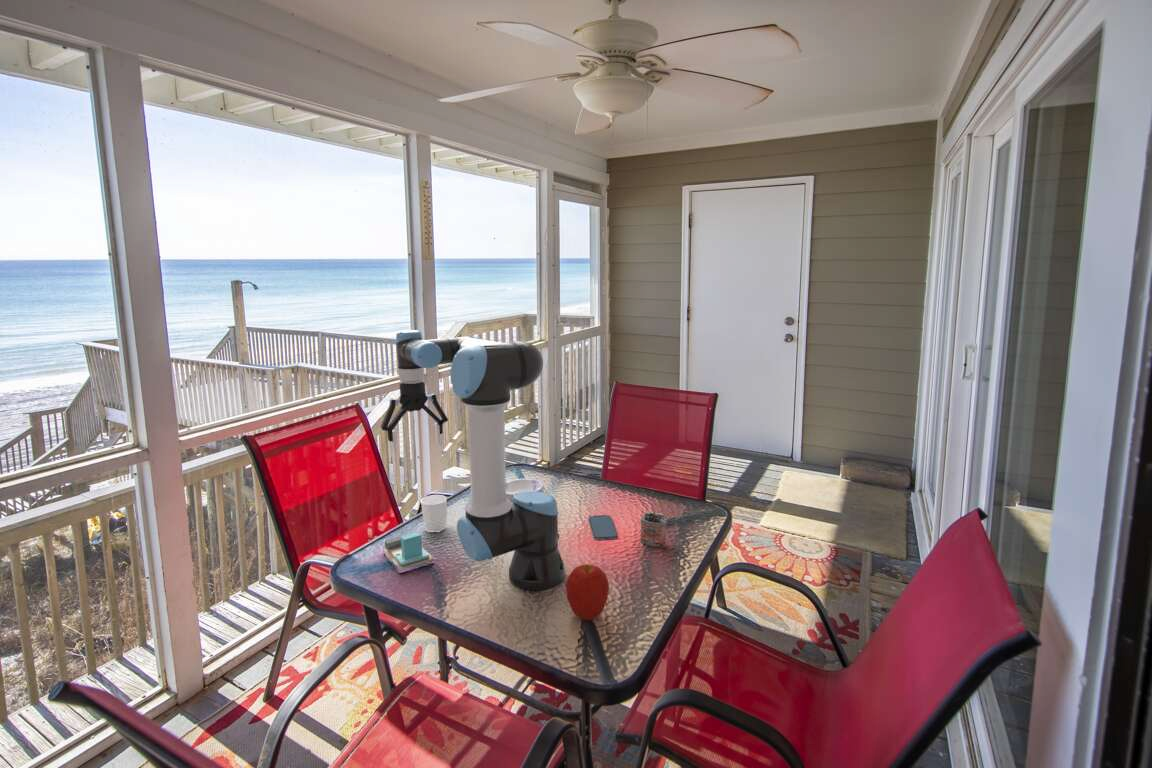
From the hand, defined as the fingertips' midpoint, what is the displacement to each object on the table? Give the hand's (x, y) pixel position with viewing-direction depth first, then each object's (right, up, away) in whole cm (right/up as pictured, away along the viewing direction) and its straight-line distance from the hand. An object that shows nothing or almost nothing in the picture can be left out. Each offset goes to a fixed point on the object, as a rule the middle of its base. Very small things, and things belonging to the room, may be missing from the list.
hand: (416, 447), depth 184 cm
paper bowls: (+31, -23, +21) cm, 44 cm away
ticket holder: (+2, -31, -15) cm, 34 cm away
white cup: (+5, -27, +5) cm, 28 cm away
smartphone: (+58, -27, +4) cm, 64 cm away
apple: (+53, -36, -43) cm, 77 cm away
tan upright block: (+73, -28, -7) cm, 79 cm away
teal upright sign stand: (+4, -29, -18) cm, 35 cm away
